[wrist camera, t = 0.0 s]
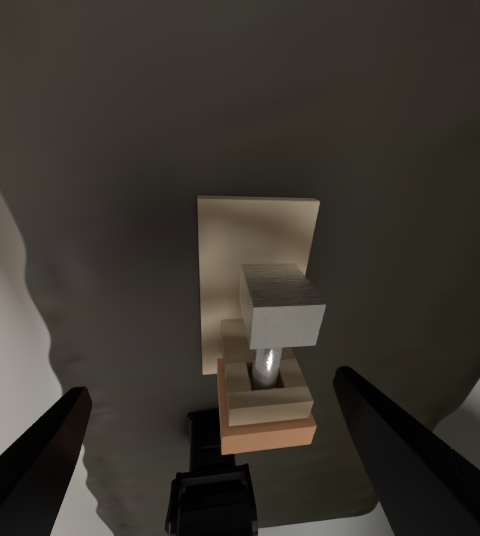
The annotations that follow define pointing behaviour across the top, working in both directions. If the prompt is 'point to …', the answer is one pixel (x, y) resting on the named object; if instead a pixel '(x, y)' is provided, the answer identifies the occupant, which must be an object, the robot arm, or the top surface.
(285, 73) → the top surface
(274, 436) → the spacer
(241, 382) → the bracket
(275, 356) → the shaft
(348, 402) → the robot arm
